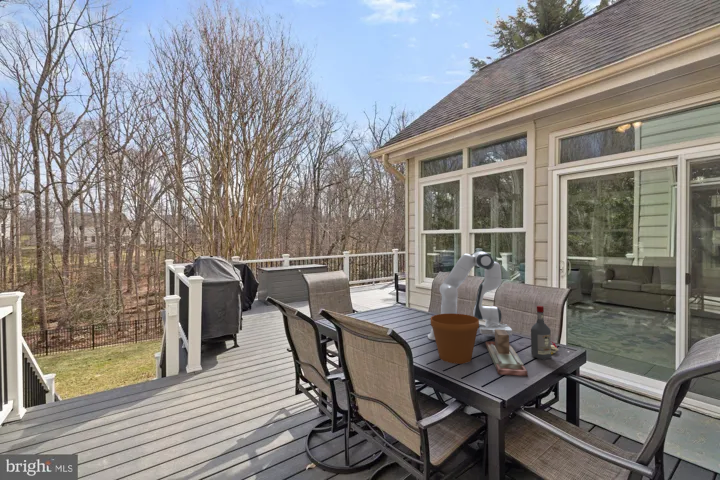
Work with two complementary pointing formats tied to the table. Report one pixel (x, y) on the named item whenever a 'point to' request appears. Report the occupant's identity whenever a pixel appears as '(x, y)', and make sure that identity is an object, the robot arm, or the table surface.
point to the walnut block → (502, 341)
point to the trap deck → (506, 361)
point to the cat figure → (553, 348)
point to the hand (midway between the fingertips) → (497, 334)
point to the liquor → (540, 337)
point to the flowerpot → (455, 336)
